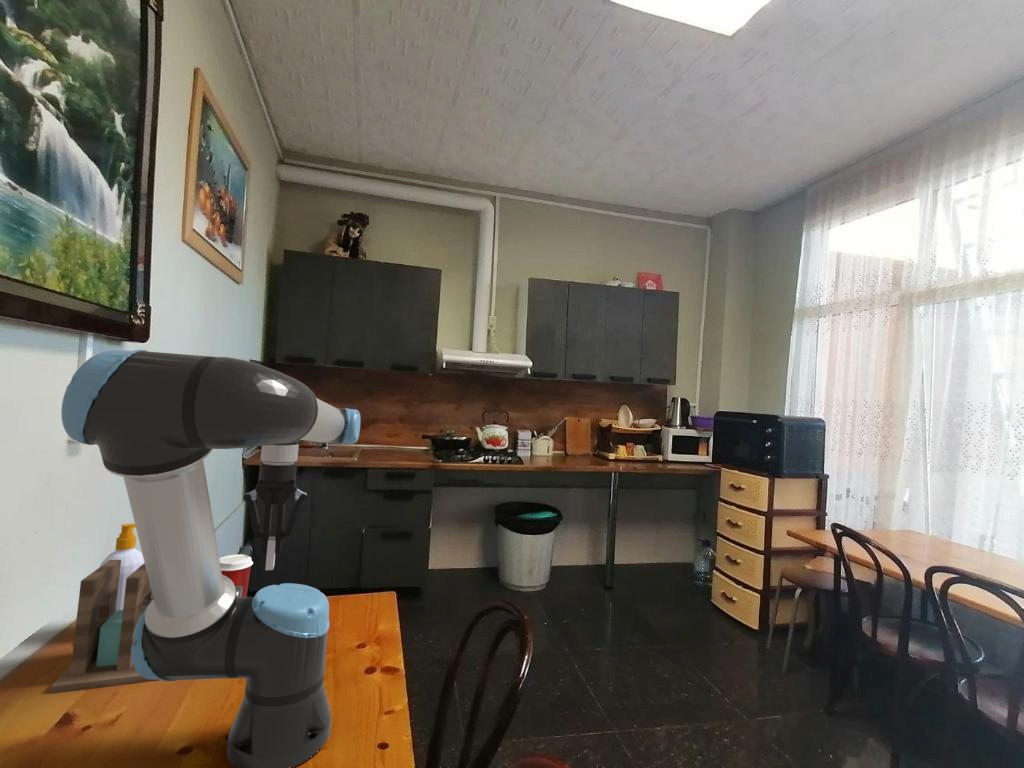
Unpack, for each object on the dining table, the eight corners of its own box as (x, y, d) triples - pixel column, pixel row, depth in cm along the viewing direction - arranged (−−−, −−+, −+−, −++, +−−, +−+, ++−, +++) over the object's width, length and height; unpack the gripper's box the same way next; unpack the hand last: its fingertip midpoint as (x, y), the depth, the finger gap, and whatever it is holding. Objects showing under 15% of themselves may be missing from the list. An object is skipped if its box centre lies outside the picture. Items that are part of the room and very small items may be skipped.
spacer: (119, 664, 91) (123, 625, 91) (96, 666, 90) (100, 627, 90) (134, 645, 98) (138, 608, 98) (113, 647, 96) (117, 610, 97)
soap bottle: (152, 626, 108) (163, 523, 109) (102, 643, 100) (115, 531, 101) (132, 617, 112) (143, 517, 113) (83, 632, 104) (95, 524, 105)
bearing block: (163, 679, 89) (173, 581, 90) (49, 693, 83) (61, 587, 84) (190, 634, 106) (198, 552, 107) (97, 643, 100) (107, 556, 101)
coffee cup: (236, 611, 118) (241, 551, 119) (254, 620, 114) (260, 558, 115) (200, 623, 111) (207, 559, 112) (219, 633, 107) (225, 567, 108)
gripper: (311, 460, 111) (302, 560, 110) (249, 459, 106) (240, 563, 105) (309, 465, 104) (300, 572, 103) (243, 464, 99) (233, 576, 98)
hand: (269, 567), depth 104 cm, fingers closed
